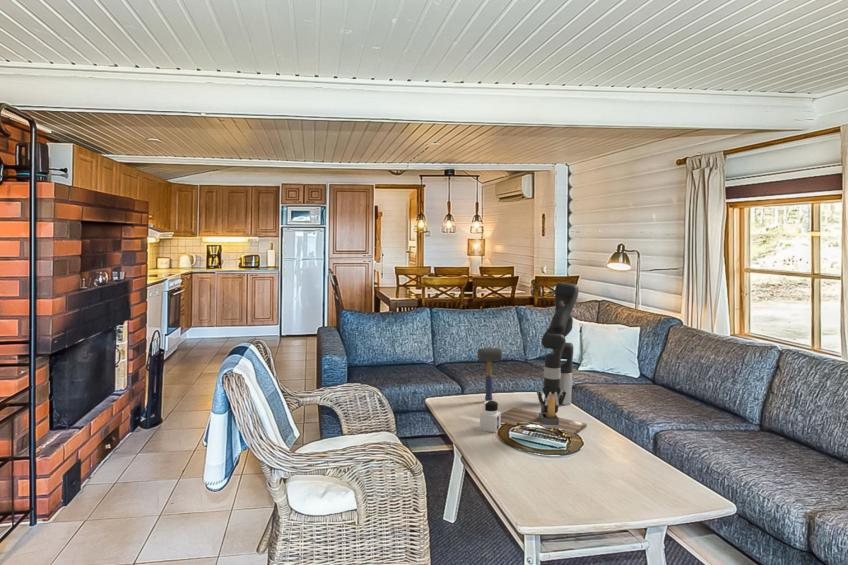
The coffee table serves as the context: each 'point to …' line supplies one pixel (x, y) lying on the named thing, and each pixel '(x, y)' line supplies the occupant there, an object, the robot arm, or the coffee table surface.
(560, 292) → the robot arm
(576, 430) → the base
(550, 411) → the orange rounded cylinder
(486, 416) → the container
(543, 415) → the lever
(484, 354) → the rubber mallet
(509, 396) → the coffee table surface
